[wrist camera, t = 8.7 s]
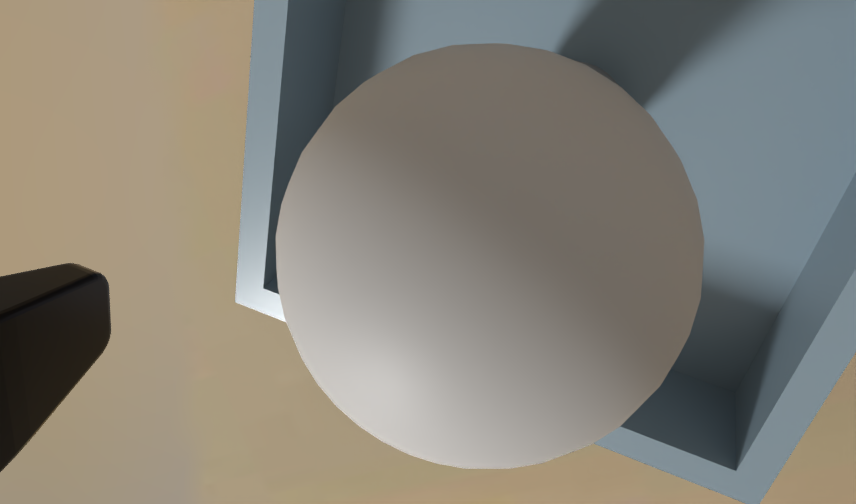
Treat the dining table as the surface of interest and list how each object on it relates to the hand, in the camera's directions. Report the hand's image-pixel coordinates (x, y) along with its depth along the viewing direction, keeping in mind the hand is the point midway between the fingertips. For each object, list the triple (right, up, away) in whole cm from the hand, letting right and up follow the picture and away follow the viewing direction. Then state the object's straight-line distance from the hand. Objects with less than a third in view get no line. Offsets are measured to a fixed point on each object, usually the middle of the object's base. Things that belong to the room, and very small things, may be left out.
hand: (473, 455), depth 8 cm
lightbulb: (+3, +6, +10) cm, 12 cm away
